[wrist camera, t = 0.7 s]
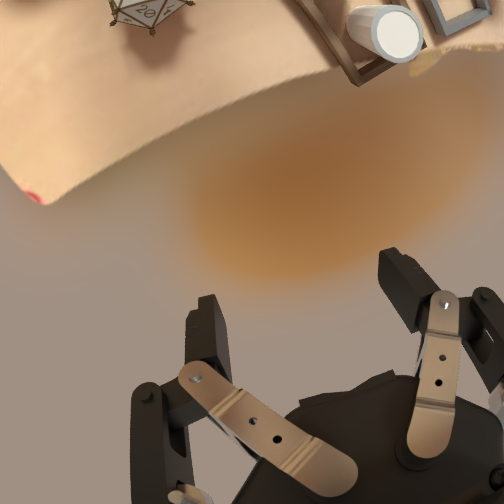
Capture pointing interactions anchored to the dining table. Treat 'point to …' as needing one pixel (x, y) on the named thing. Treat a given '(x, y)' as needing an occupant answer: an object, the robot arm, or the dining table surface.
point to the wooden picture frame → (339, 51)
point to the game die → (144, 11)
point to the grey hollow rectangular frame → (457, 22)
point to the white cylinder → (386, 31)
